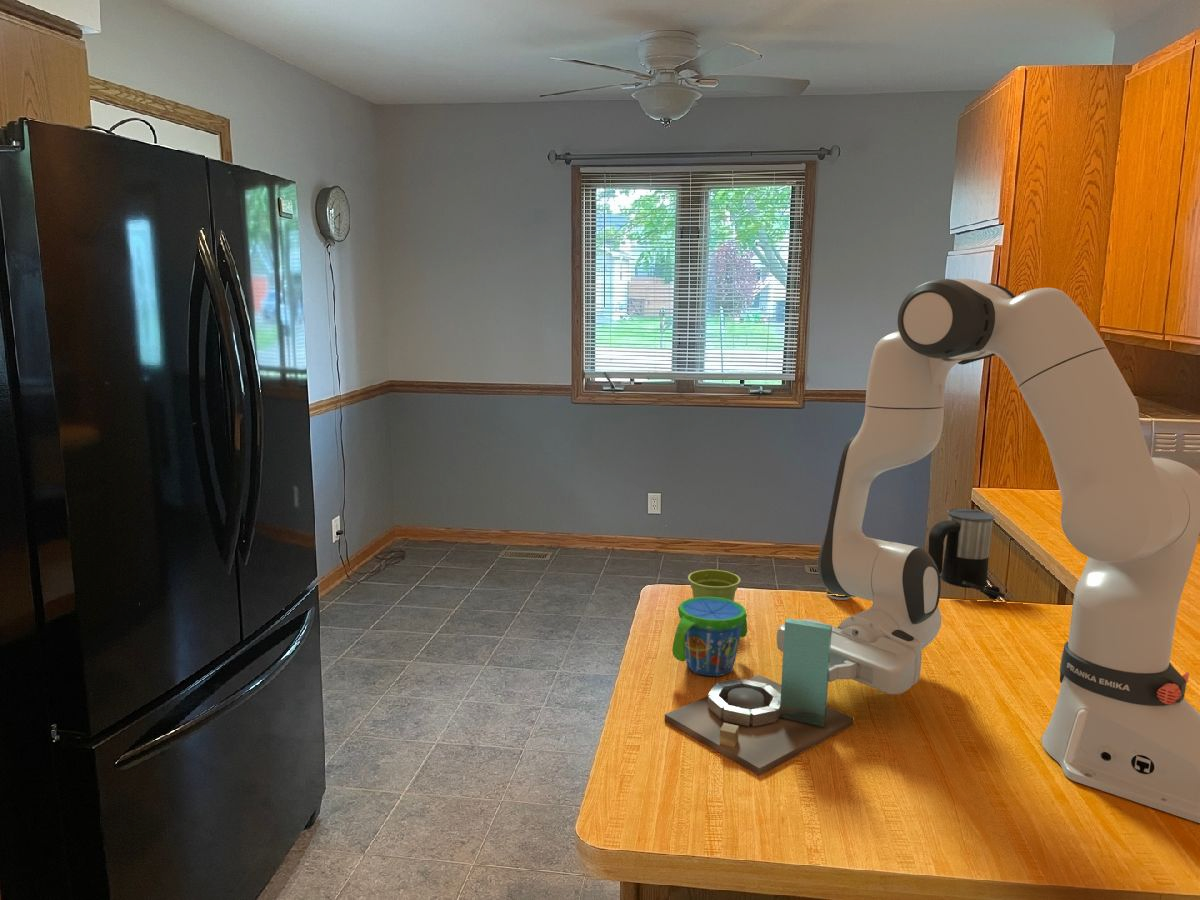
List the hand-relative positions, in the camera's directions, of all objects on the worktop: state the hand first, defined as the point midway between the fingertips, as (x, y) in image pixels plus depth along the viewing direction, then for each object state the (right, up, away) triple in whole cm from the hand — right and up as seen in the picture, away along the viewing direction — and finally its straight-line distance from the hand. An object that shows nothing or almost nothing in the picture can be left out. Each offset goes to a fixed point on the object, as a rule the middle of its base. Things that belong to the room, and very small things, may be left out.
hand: (811, 669), depth 114 cm
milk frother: (+47, +2, +56) cm, 73 cm away
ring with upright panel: (-6, -6, +2) cm, 9 cm away
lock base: (-7, -8, +1) cm, 11 cm away
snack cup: (-12, -5, +18) cm, 22 cm away
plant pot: (-9, -1, +36) cm, 37 cm away
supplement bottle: (+18, +1, +50) cm, 53 cm away
